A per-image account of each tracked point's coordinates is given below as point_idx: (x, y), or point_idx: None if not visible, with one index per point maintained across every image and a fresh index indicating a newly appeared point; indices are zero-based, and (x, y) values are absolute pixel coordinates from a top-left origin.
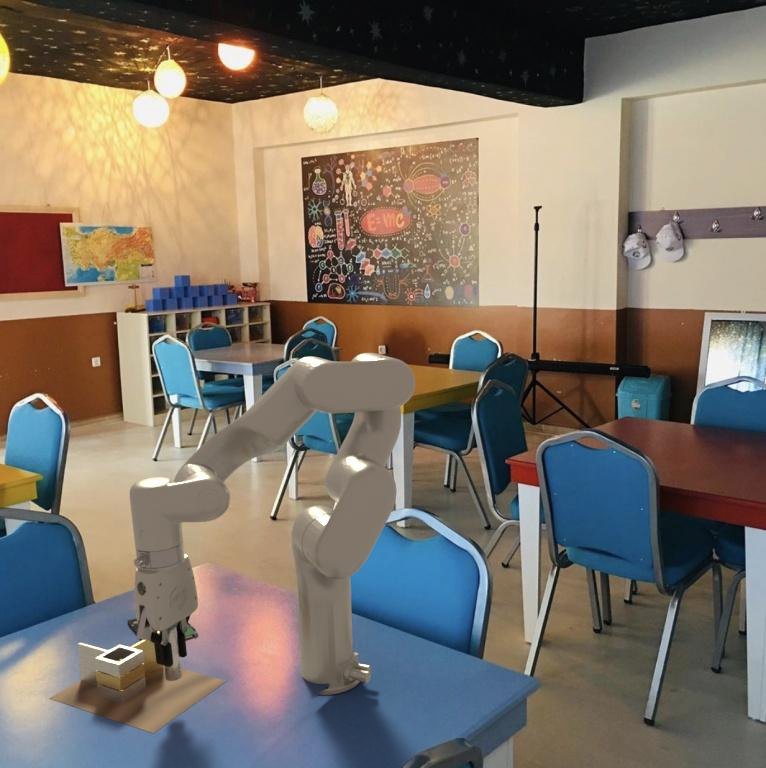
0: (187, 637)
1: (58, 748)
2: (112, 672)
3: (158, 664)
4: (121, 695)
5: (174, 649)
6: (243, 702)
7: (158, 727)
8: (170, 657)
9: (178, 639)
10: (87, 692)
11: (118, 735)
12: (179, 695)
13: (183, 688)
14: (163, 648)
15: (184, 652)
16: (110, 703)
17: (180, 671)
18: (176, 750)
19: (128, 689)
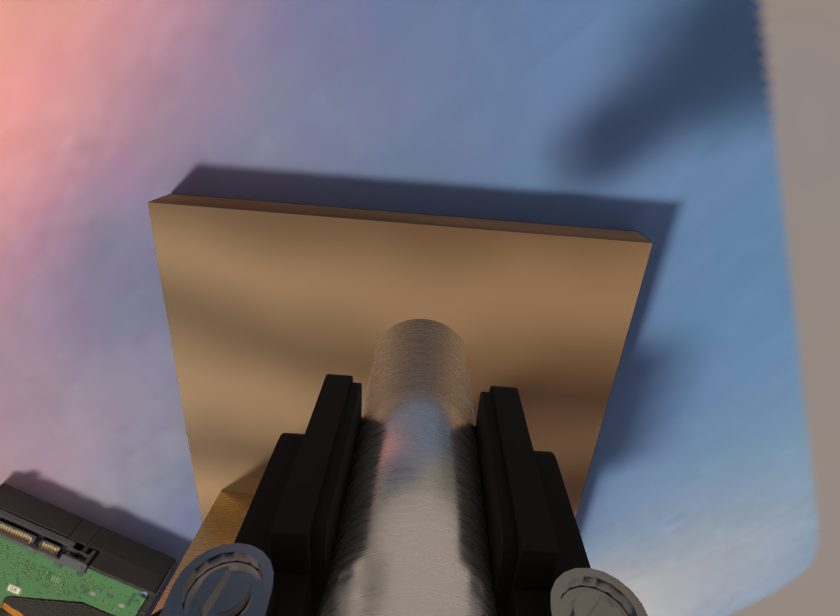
0: (16, 532)
1: (736, 493)
2: None
3: (235, 512)
4: None
5: (440, 470)
6: (212, 39)
7: (605, 251)
8: (522, 434)
9: (333, 530)
10: None
11: (624, 379)
12: (352, 324)
13: (300, 342)
14: (569, 551)
15: (345, 396)
16: None
17: (406, 339)
18: (676, 95)
19: None
